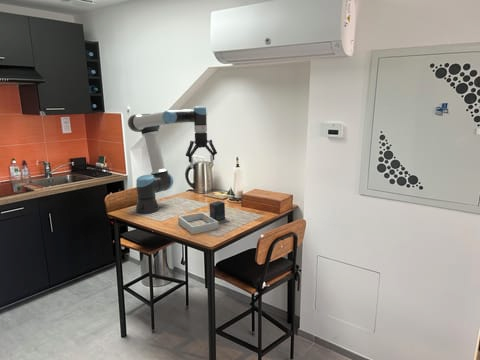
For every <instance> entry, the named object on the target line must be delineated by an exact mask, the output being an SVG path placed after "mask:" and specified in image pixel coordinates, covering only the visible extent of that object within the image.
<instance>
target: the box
mask: <svg viewBox="0 0 480 360" xmlns="http://www.w3.org/2000/svg"><path fill="white" fill-rule="evenodd" d="M225 206H226V204H225V201H221V200H217V201H214V202H211V203H209V216H210V217H211V218H213V219H214V220H216V221H220V220H223V219H225V218H226V210H225V209H226V207H225Z"/></svg>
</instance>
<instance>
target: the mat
mask: <svg viewBox="0 0 480 360" xmlns="http://www.w3.org/2000/svg"><path fill="white" fill-rule="evenodd" d="M229 222H230V220H229V219H227V218H226V217H225V219H223V220H220V221H218V225H220V224H225V223H229Z"/></svg>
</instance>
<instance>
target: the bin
mask: <svg viewBox="0 0 480 360" xmlns="http://www.w3.org/2000/svg"><path fill="white" fill-rule="evenodd" d="M177 217H178V218H177V220H178V221H177V222H178V224H179V225H180V226H182V227H183V228H185V229H186V230H187V231H188V232H189V233H190V234H192V235H195V234H199V233H204V232H208V231H213V230H219V226H220V225H219V224H218V221H216V220H214V219H213V218H211V217H210V215H208V214H206V213H205V212H203V211H200V212H196V213H195V212H194V213H191V214H190V213H189V214H183V215H179V216H177ZM197 220H203V221H205V222H206V223H203V224H198V225H192V224H191V223H190V222H192V221H197Z"/></svg>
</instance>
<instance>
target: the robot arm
mask: <svg viewBox="0 0 480 360" xmlns="http://www.w3.org/2000/svg"><path fill="white" fill-rule="evenodd" d="M207 116H208V113H207V107H205V106H194V107H193V109H175V110H174V109H169V110H165V111H162V112H156V113H141V114H140V113H139V114H137V113H136V114H133V115H131V116H130V117H129V118H128V120H127V125H128V128H129V129H130V130H131V131H133V132H136V133H141V136H143V138H144V139H145V140H144V141H145V144H146V149H147V152H148V157H149V162H150V167H151V170H152V171H151V173H150V174H142V175H140V176H138V177H137V178H136V184H135V185H136V192H137V193H136V194H137V201H136V205H135V212H136V213H137V212H138V214H152V212H153V213H155V212H158V211H159V210H160V206H159V203H158V201H157V199H156V193H157V194H158V193H161V192H165V191H168V190H170V189H171V188H172V187H173V185H174V178H173V175H172V174H171V173H169V171H168V170H167V169H166V168H165V163H164V159H163V158H164V157H163V155H162V150H161V146H160V145H161V144H160V142H159V137H158V135H159V134H160V133H159V130H160V128H161V126H163V125H171V124H178V123H179V124H180V123H181V124H182V123H193V125H194V129H193V130H194V140H190V141H189V146H188V147H187V150H186V152H185V157H188V162H189V165H190V168H191V169H194V157H193V155H195V153H196V151H197V149H199V148H200V149H201V148H205V149H206V150H207V151H208V152H209V154H210V155H209V158H210V163H209V164H210V166H212V167H213V166H214V161H215V155H217V154H218V152H217V150H216V147H215V146H214V144H213V140H212V139H208V132H207V131H208V124H207V123H208V122H207ZM208 144H209V145H208Z"/></svg>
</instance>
